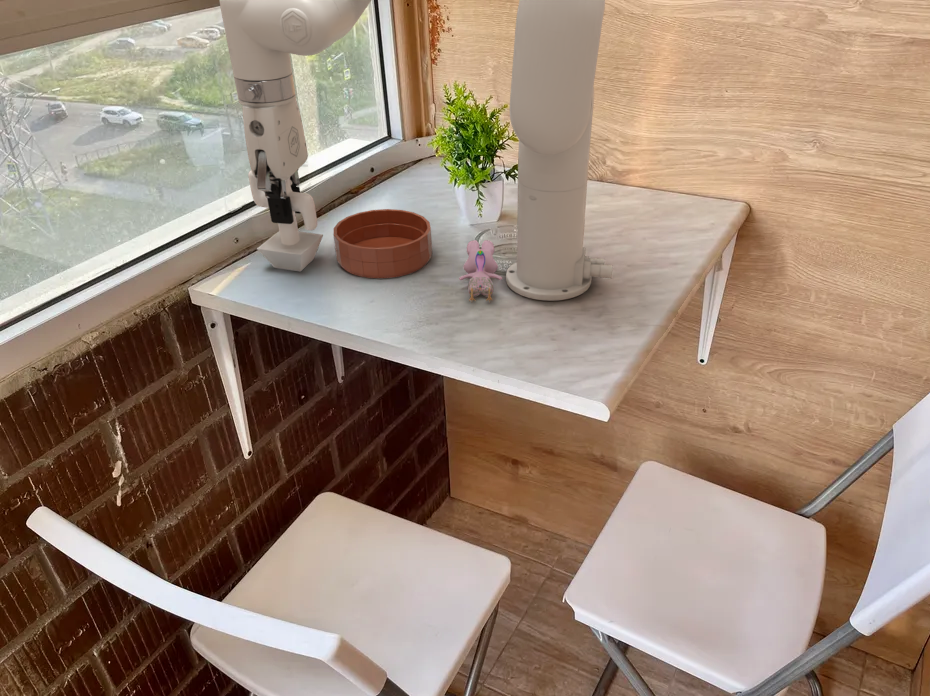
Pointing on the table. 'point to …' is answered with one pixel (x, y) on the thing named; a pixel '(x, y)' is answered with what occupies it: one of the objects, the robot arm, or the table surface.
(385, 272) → the bowl
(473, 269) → the rabbit figure
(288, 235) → the figurine
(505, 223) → the table surface
